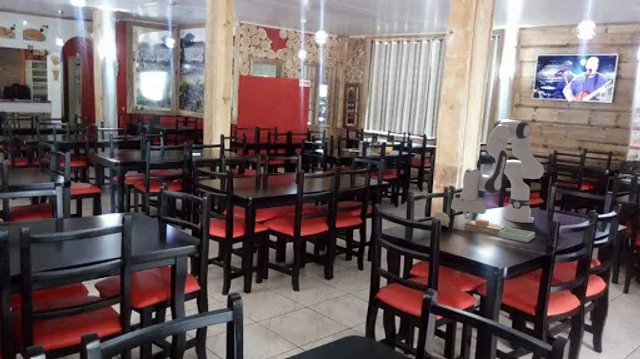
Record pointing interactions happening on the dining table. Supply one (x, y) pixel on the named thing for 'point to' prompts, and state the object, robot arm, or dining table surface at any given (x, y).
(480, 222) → the tile
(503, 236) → the tray
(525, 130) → the robot arm
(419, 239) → the dining table surface
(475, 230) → the board
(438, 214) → the cheese
